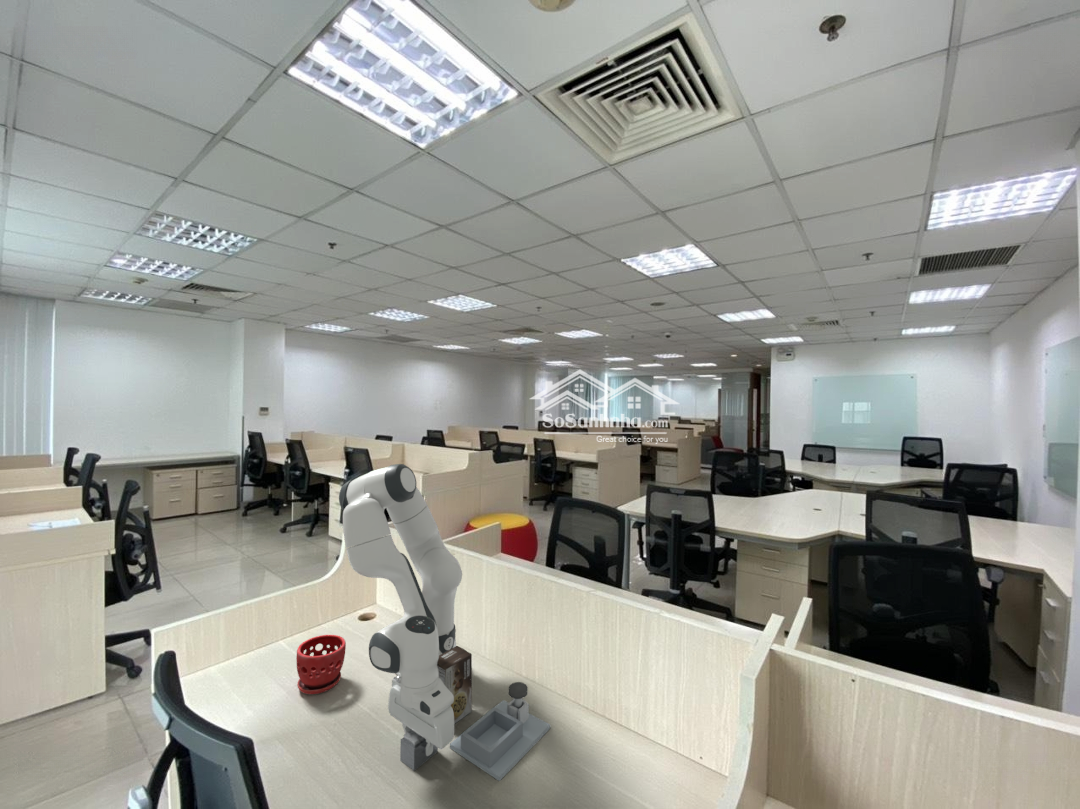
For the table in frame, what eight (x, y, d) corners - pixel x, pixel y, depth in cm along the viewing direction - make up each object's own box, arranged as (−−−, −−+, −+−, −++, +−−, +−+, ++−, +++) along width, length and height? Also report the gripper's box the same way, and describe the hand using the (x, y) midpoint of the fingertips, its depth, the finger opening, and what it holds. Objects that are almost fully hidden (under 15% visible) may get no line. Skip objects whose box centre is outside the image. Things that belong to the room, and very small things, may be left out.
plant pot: (309, 705, 122) (309, 662, 122) (288, 687, 130) (288, 646, 130) (353, 682, 133) (354, 642, 133) (331, 666, 141) (331, 628, 141)
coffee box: (457, 701, 124) (457, 644, 124) (472, 712, 120) (473, 653, 120) (430, 719, 117) (430, 658, 117) (445, 731, 113) (446, 668, 113)
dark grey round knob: (504, 707, 116) (504, 689, 116) (516, 697, 120) (516, 679, 120) (519, 715, 113) (519, 696, 113) (531, 704, 117) (531, 686, 117)
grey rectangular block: (400, 760, 104) (400, 735, 104) (424, 742, 109) (424, 718, 109) (414, 771, 101) (414, 745, 101) (437, 751, 107) (437, 727, 107)
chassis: (449, 747, 108) (450, 727, 108) (503, 703, 124) (503, 685, 124) (499, 781, 98) (499, 758, 98) (550, 728, 114) (550, 709, 114)
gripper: (382, 679, 109) (381, 735, 109) (437, 713, 97) (437, 777, 97) (403, 667, 114) (402, 720, 114) (459, 698, 102) (458, 758, 102)
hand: (419, 747), depth 105 cm, fingers closed on grey rectangular block, 5 cm apart
